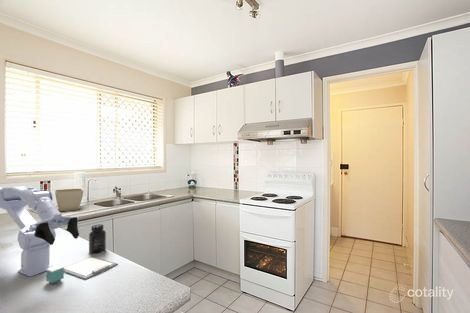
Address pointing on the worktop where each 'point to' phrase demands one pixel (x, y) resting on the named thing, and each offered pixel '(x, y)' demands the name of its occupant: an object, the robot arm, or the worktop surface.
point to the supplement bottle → (97, 239)
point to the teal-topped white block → (55, 274)
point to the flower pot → (68, 199)
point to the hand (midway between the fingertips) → (65, 239)
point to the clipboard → (89, 267)
